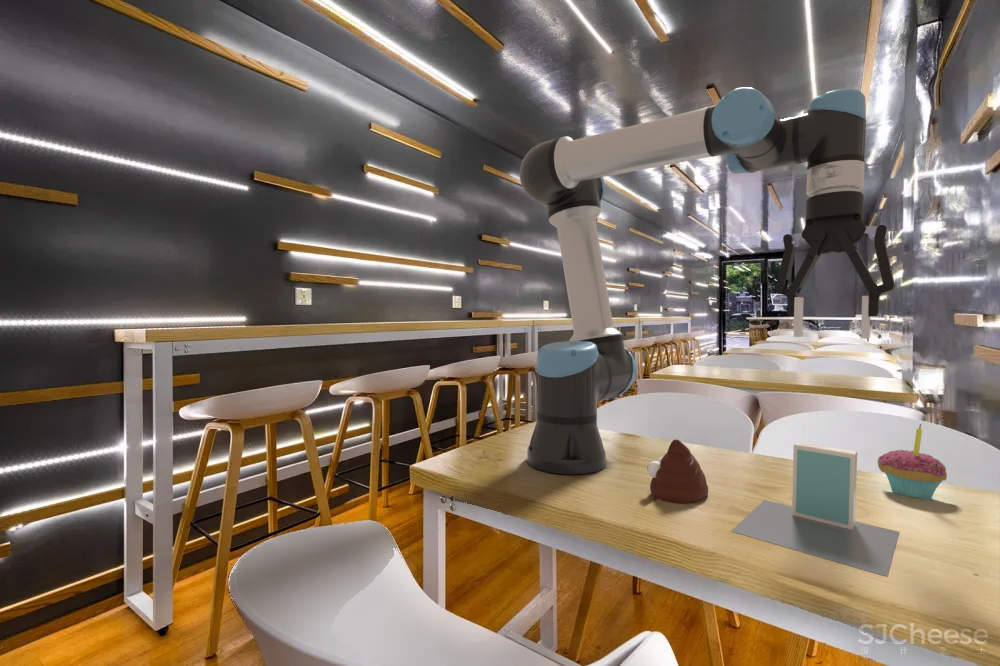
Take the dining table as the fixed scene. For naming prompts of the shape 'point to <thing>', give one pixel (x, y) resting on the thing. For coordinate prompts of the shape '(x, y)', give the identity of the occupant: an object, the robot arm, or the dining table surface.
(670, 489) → the poop emoji
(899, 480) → the cupcake
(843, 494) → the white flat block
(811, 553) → the slate board
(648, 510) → the dining table surface
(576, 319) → the robot arm
